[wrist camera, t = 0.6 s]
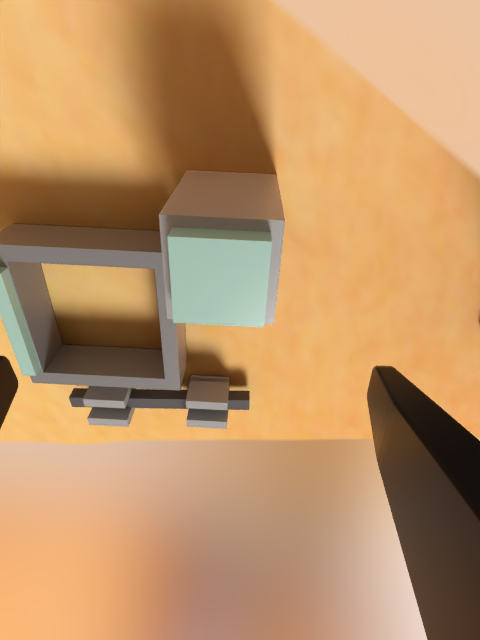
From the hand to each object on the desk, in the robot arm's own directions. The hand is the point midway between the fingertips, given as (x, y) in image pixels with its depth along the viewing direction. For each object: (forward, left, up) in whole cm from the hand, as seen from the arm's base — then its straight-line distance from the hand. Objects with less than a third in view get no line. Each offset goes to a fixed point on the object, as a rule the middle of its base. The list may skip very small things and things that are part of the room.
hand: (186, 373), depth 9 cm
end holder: (+6, +5, -11) cm, 13 cm away
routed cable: (+4, +11, -11) cm, 16 cm away
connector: (0, 0, -11) cm, 11 cm away
